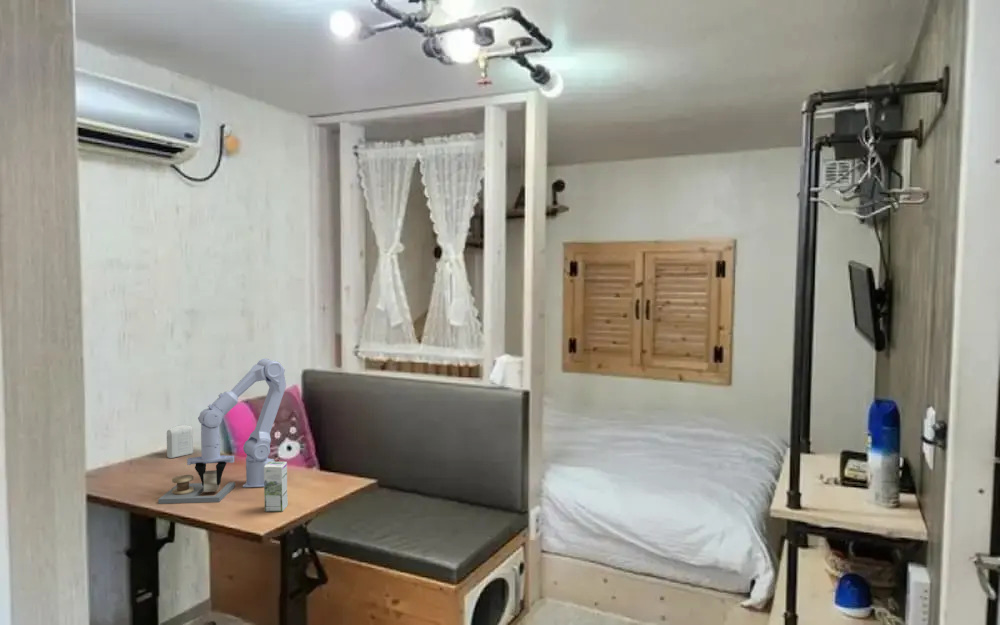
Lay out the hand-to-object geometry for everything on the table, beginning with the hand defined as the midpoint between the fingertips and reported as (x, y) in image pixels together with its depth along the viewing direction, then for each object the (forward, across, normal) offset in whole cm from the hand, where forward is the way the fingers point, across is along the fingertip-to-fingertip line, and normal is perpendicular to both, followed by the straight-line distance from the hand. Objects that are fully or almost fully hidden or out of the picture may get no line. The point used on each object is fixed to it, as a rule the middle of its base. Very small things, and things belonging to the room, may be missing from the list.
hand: (211, 484), depth 219 cm
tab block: (+2, 0, 0) cm, 2 cm away
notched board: (+3, +4, +1) cm, 5 cm away
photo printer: (+3, +24, -53) cm, 58 cm away
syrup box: (+3, -24, +20) cm, 31 cm away
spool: (+2, +9, +1) cm, 9 cm away
